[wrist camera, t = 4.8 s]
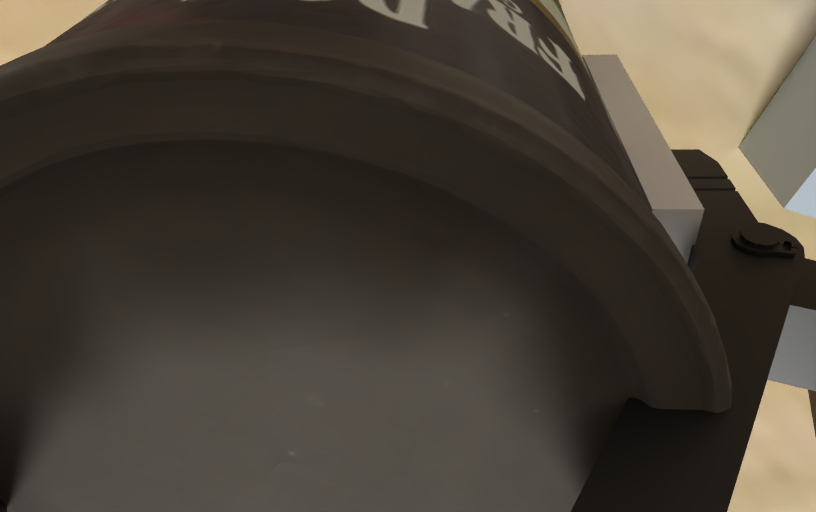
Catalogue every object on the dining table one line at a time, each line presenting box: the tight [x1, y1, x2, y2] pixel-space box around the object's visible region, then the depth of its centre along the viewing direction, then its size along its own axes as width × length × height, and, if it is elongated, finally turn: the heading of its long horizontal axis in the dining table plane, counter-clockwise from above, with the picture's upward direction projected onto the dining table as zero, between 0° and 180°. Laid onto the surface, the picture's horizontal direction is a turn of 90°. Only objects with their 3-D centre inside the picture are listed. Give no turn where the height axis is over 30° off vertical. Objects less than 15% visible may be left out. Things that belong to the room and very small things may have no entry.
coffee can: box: [0, 0, 732, 512], centre depth 14 cm, size 10×10×14 cm
